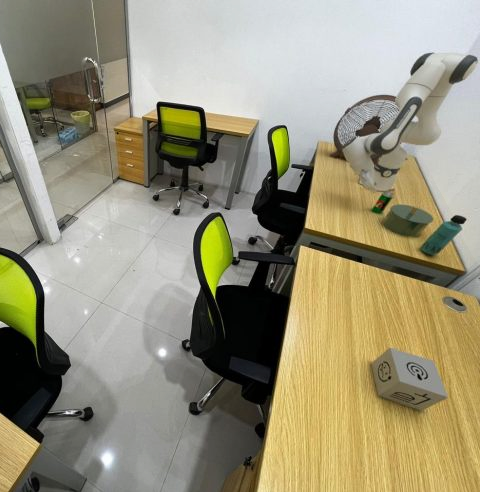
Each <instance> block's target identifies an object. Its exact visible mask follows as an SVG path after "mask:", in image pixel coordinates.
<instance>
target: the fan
mask: <svg viewBox="0 0 480 492" xmlns="http://www.w3.org/2000/svg"><path fill="white" fill-rule="evenodd" d="M396 97H397V95H396V96H395V95H391V94H376V95H372V96H369V97H365V98H363V99H361V100H358V102H355V103H354V104H352V106H350V107H348V108H346V110H345V111H344V114H343V115H342V116H341V117H340V119H339V120H338V122H337V123H336V125H335V127H334V130H333V136H332V137H333V144H334V147H335V149H336V150H334V151H333V152H332V153H331V155H330V158H334V159H335V158H337V157H338V156H340V155H341V156H342V157H345V156H344V154H343V151H342V147H343V145H344V144H345V143H346V142H347V141H348V140H350V139H352V138H354V137H363V136H367V135H370V134H374V133H380V130H381V128H382V126H383V125H384V124H385V123H386V122H388V121H390V120H394V119H395V117H396V116H397V114H398V112H399V108H398V107H397V106H396V103H395V99H396ZM381 101H382V104H381ZM389 115H390V116H389ZM351 116H352V117H351ZM385 119H386V120H385ZM402 143H403V142H401V143H400V145H402ZM381 157H382V155H378V154H372V155H370V158H371V160H372V161H373V163H374V166H375V165H376V164H377V163H378V162H379V160H380V158H381Z"/></svg>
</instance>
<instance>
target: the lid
mask: <svg viewBox="0 0 480 492" xmlns="http://www.w3.org/2000/svg"><path fill="white" fill-rule="evenodd" d="M389 209H390V210H391V212H392V213H393V214H394V215H396V216H397V217H399V218H401V219H403V220H406V221H409V222H413V223H418V224H428V225H430V224H431V223H433V221H434V217H433V215H431V214H430V213H429V212H427V211H425V210H424V209H422V208H420V207H418V206H416V205H415V206H413V205H409V204H399V203H398V204H393V205H392V206H391V207H390V208H389ZM390 210H389V211H390Z"/></svg>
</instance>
